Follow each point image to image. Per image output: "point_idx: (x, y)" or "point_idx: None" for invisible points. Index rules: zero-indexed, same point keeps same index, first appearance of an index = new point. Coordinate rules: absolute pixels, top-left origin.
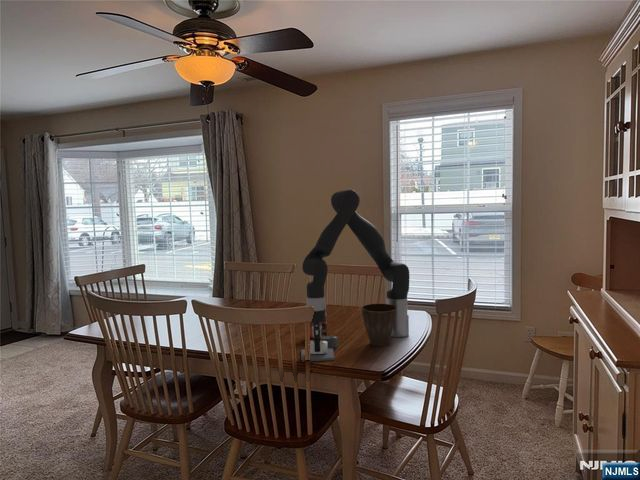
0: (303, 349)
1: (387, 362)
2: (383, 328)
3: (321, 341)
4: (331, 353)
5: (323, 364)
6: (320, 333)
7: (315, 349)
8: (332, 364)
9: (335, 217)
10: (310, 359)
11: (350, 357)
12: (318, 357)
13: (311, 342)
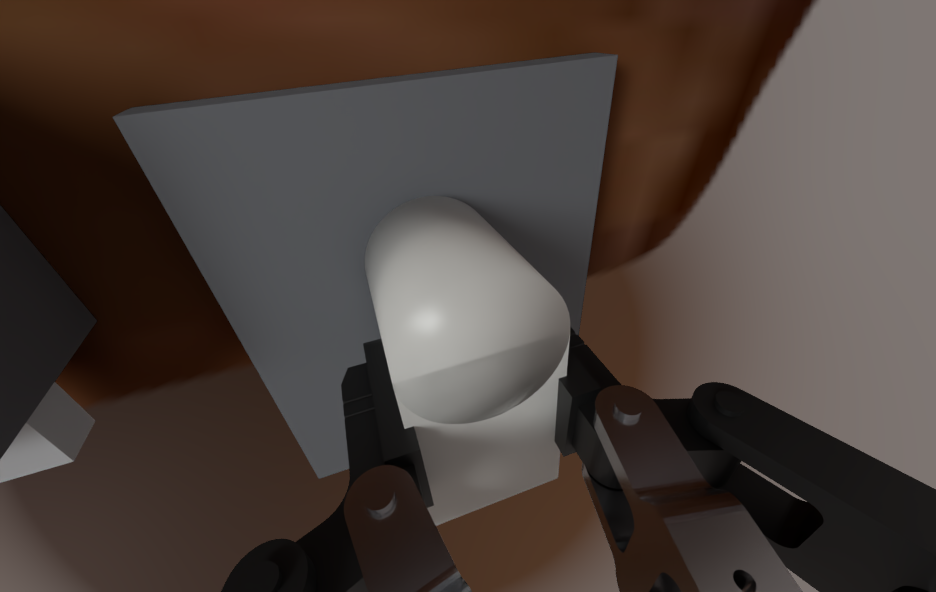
0: (313, 468)
1: None
2: None
3: (446, 391)
4: (430, 120)
5: (673, 183)
6: (775, 577)
7: None
8: (709, 73)
9: None
10: (573, 327)
11: None
12: (564, 270)
13: (516, 482)
